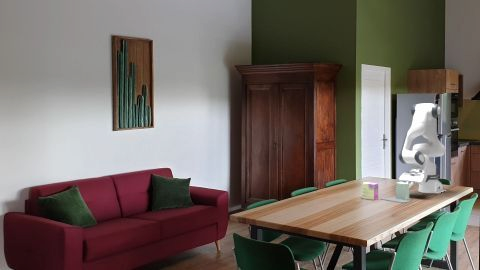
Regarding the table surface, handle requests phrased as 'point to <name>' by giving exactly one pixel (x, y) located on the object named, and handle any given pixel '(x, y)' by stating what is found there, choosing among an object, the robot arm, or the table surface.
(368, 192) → the box
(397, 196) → the block
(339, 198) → the table surface
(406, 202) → the mat
